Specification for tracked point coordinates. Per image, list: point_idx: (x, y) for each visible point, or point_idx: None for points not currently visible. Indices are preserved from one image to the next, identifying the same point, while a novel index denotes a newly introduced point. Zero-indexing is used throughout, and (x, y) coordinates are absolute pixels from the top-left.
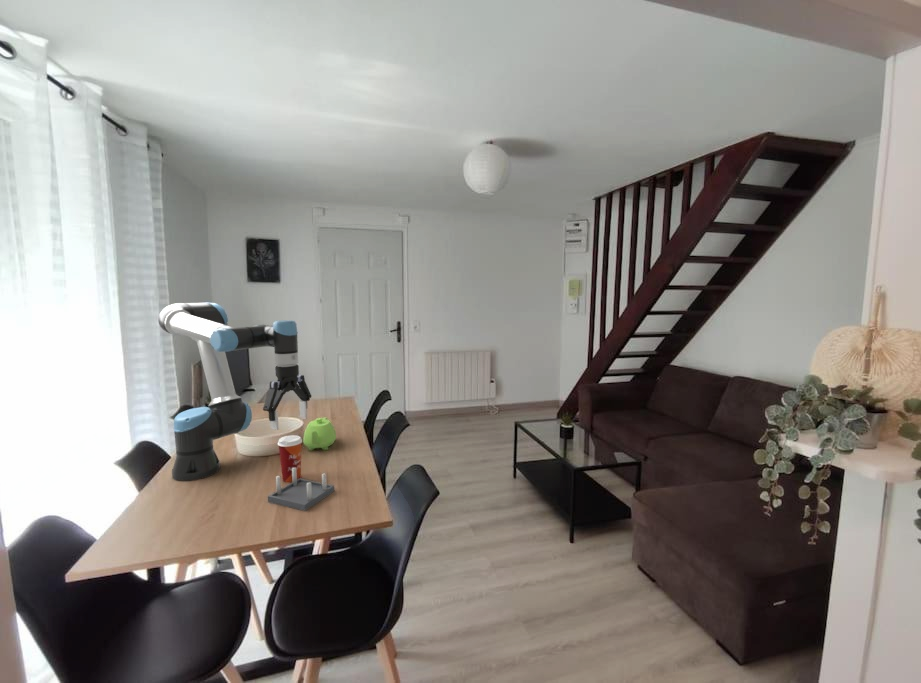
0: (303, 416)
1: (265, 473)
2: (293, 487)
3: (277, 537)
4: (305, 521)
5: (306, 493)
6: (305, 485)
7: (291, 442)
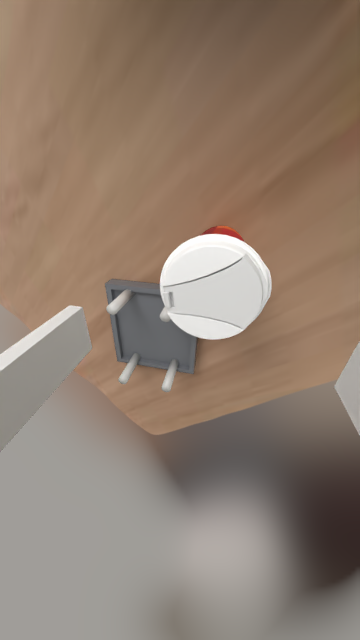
0: (351, 386)
1: (233, 124)
2: None
3: None
4: (104, 366)
5: (155, 338)
6: None
7: (179, 326)
